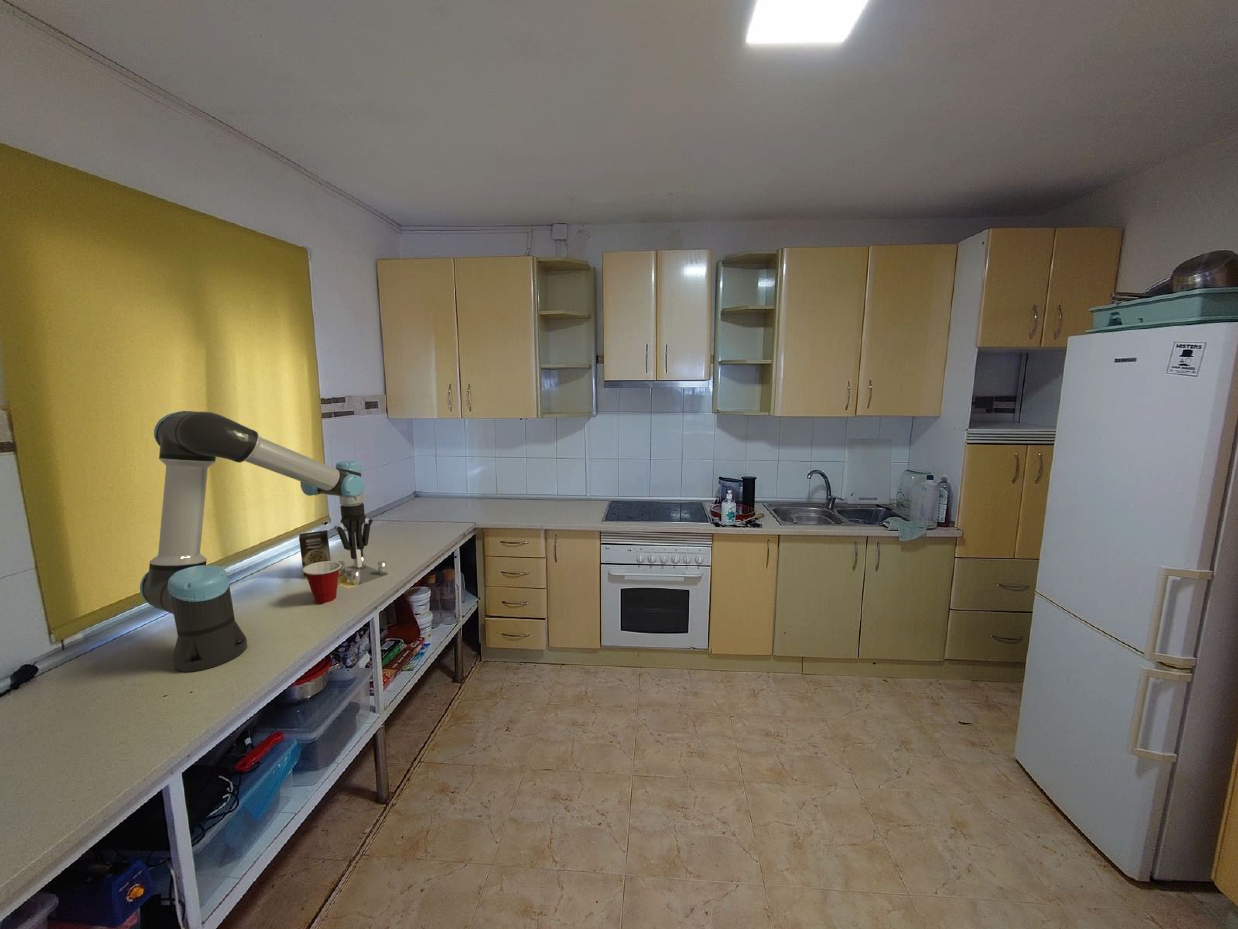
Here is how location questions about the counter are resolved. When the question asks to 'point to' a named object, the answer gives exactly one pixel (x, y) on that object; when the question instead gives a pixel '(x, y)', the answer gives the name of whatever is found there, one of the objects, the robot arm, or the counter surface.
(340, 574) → the tan faceted flat piece
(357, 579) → the spacer
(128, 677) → the counter surface
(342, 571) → the spacer
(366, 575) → the mat
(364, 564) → the ball
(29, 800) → the counter surface
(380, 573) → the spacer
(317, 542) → the coffee box
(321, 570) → the plastic cup
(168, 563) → the robot arm
